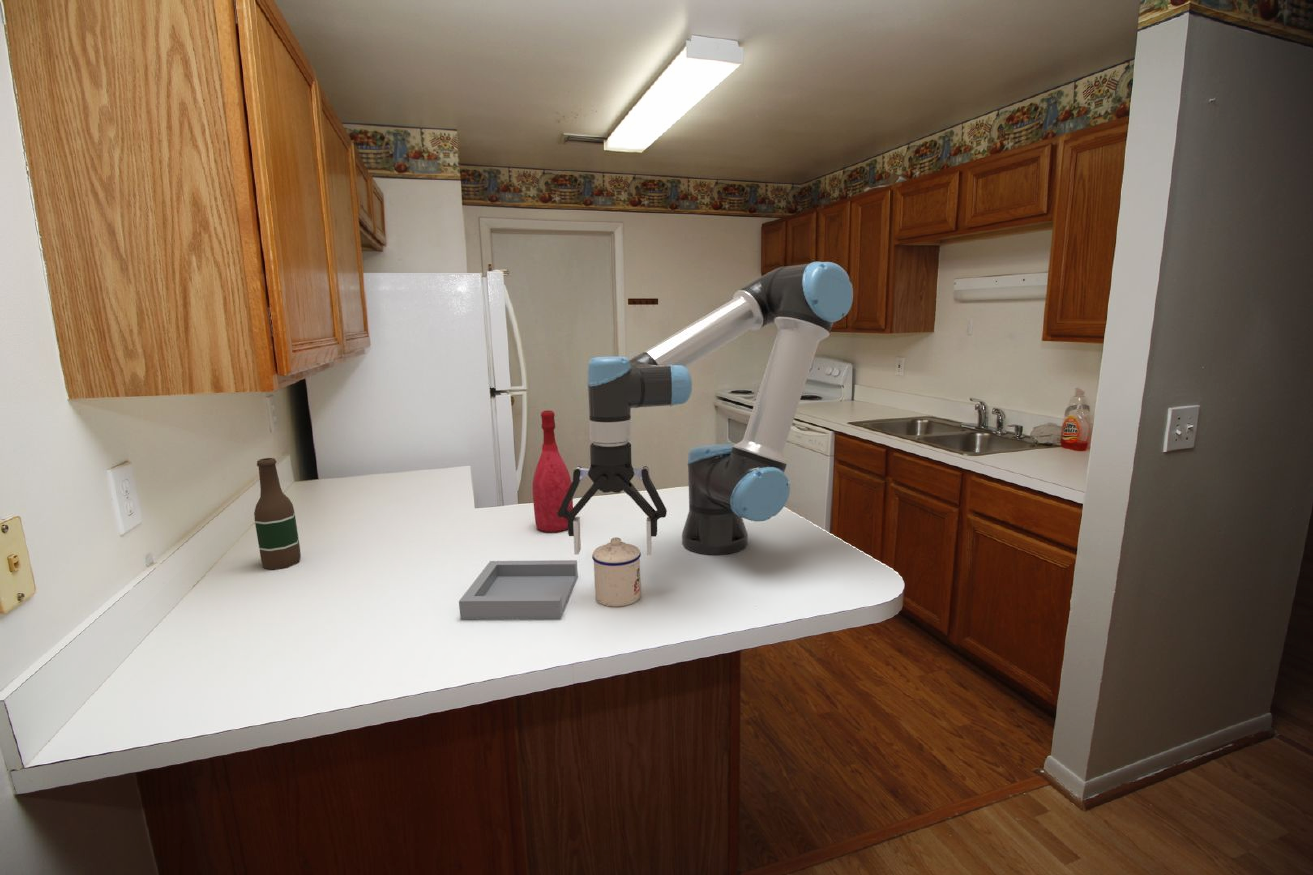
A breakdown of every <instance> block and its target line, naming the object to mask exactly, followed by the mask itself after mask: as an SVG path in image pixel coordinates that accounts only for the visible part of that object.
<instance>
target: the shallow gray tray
mask: <svg viewBox="0 0 1313 875" xmlns="http://www.w3.org/2000/svg"><path fill="white" fill-rule="evenodd" d="M578 575H579V572H578V560H577V559H573V560H572V559H569V560H568V559H566V560H563V559H561V560H558V559H557V560H556V559H555V560H550V559H549V560H489V562H488V563H487V564H486V566H485V567H484V568H483V569H482V571H481V572H480V573H479V575H478V576H477V578H476V579H475V580H474V581H473V582H472V584H471V585H470V586H469V587H468V589H467V590H466V591H465V593H464V594H463V595H462V597H461V598H460V599H459V600H458V608H459V616H460V617H459V618H460V620H561V619H562V616H563V615H564V612H565V609H566V606H567V604H568V601H569V599H570V597H571V594H572V591H573V589H574V587H575V584H576V581H577V579H578V578H579V576H578Z"/></svg>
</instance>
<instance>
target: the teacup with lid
mask: <svg viewBox="0 0 1313 875" xmlns="http://www.w3.org/2000/svg"><path fill="white" fill-rule="evenodd" d="M591 555H592V556H591V558H592V560H593V575H594V592H595V593H594V594H595V600H596V601H597V602H598V603H600V605H604V606H607V607H617V608H618V607H625V606H626V607H627V606H629V605H632V604H634V603H636V602H637V601H638V600H639V599H640V598H641V596H642V588H641V585H642V584H641V555H642V553H641V550H640V549H639V547H638V546H636V545H634V544H631V543H626V542H623V541H622V538H621V537H617V536H616V537H612V538H611V539H610V542H608V543H606V544H603V545H600V546H598V547H597V548H596V549H594V551H593V552H592V554H591Z"/></svg>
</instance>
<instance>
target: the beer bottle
mask: <svg viewBox="0 0 1313 875" xmlns="http://www.w3.org/2000/svg"><path fill="white" fill-rule="evenodd" d="M276 464H277V459H276V458H275V457H265V458H260V459H258V460H257V462H256V466H257V467H258V474H259V485H260V486H259V487H260V495H259V496H260V497H259V499H258V501H257V503H256V504H255V509H254V513H253V514H254V515H253V516H254V525H255V531H256V538H257V543H258V548H259V549H258V550H259V556H260V561H261V565H262V569H266V570H271V571H274V570H279V569H280V570H281V569H287V568H290V567H292V566H295V565H297V564H299V563H300V560H301V557H302V556H301V555H302V554H301V547H300V546H301V545H300V538H299V533H298V526H297V520H296V513H295V509H294V508H295V507H294V504H293V502H292V500H291V499H290V498H289V497H288V496H287V495H286V494H285V493H284V492H283V489H282V487H281V484H280V479H279V475H278V470H277V466H276Z"/></svg>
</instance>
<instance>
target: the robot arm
mask: <svg viewBox="0 0 1313 875" xmlns="http://www.w3.org/2000/svg"><path fill="white" fill-rule="evenodd" d="M732 297H733V298H732V299H731V300H729V301H728V302H726V303H723V305H721V306H719V307H717V308H716V309H714V310H713V311H711V312H709V313H707V314H705V315H704V316H702V317H701V318H698V319H697V320H696V321H693V322H692V323H690V324H689V325H687V326H686V327H683V328H682V329H680V330H679V331H677V332H675V333H673V334H672V335H670V336H669V337H667V338H665V339H663V340H662V341H660V342H659V343H657V344H655V345H653V346H651V347H650V348H648V349H646V350H645V351H643V352H641V353H640V354H638V355H636V356H634V357H632V358H631V359H629V358H628V357H626V356H597V357H593V358H591V359H590V360H589V362H588V366H587V367H588V369H587V382H586V384H587V393H588V395H587V396H588V409H589V410H588V411H589V416H588V422H589V423H588V424H589V426H588V428H589V429H588V430H589V440H590V442H592V443H591V444H590V446H589V452H590V453H589V454H590V455H589V456H590V466H589V468H583V467H582V466H576V467H575V469H574V470H573V474H572V480H571V483H572V484H571V486H570V488H569V490H568V492H567V494H566V496H565V498H564V500H563V503H562V505H561V507H560V509H559V511H558V513H557V515H558V517H563V518H566V519H567V521H568V529H567V534H568V536H569V537H573V549H574V555H579V554H580V551H581V549H582V548H581V547H582V546H581V542H582V541H581V521H580V518H581V516H577V515H578V514H579V513H580V512H581V511H582V509H583V508H584V507H585V506H586V504H587V503H588V502H589V501H590V500H591V499H592V497H594V495H595V494H597V492H598V490H599V491H600V492H602V493H606V494H607V493H610V492H611V493H617V494H618V493H621V492H623V491H624V493H625V494H626V495H627V496H629V497H630V498H631V500H633V502H634V503H635V504H636V505H637V506H638V507H639V508H640V510H641V511H642V512H643V513H644V514H645V515H646V516H647V518H646V522H645V523H646V525H645V526H646V555H647V556H651V555H652V548H653V547H652V544H653V542H652V541H653V540H652V537H657V535H658V521H659V520H660V519H661V518H663V519H664V518H666V516H667V512H668V511H667V507H666V506H665V503H664V502H663V500H662V498H661V497H660V496H661V495H659V493H658V491H657V488H656V486H655V485H654V483H653V481H652V479H651V476H650V470H649V467H648V466H646V465H645V466H642V468H641V467H640V468H639V467H638V468H634V467H633V465H632V463H633V462H632V444H631V443H630V441H631V439H632V425H631V424H632V422H631V421H632V420H631V417H632V416H631V413H632V412H631V409H638V408H649V407H650V408H653V407H668V406H669V407H673V406H675V405H676V406H677V405H683V404H685V403H687V402H688V401H689V399H690V398H691V394H692V390H693V388H692V386H693V384H692V383H693V382H692V377H691V373H690V372H689V369H688V368H689V367H691V366H692V365H694V364H695V363H697V362H699V361H701V360H702V359H704V358H705V357H707V356H709V355H710V354H712V353H713V352H715V351H717V350H719V349H721V348H722V347H723V346H725V345H727V344H728V343H730V342H731V341H733V340H735V339H736V338H738V337H740V336H742V335H743V334H745V333H747V331H750V330H751V331H758V330H760V329H761V328H764V327H766V326H767V325H769V324H773V323H774V324H775V327H776V328H777V333H776V337H775V340H774V343H773V345H772V349H771V352H770V355H769V357H768V358H769V359H768V362H767V365H766V368H765V371H764V373H763V376H762V377H763V378H762V380H761V382H760V383H761V384H760V386H759V389H758V391H757V392H758V393H757V395H756V398H755V401H754V405H753V407H752V410H751V414H750V417H749V420H748V423H747V424H746V425H747V426H746V429H745V432H744V435H743V438H742V439H741V440H740V441H739V442H737V443H734V444H733V443H719V444H718V443H717V444H715V443H714V444H707V445H705V444H704V445H700V446H695V447H693V448H691V449H690V450H689V452H688V457H687V467H688V469H687V470H688V471H687V473H688V476H687V477H688V513H687V517H686V519H685V520H686V521H685V522H684V523H685V524H684V525H683V530H682V533H681V534H682V535H681V544H682V545H683V547H684V548H685V549H687V550H689V551H691V552H695V553H698V554H703V555H727V554H733V553H736V552H740V551H741V550H744V549H745V548H746V547H747V546H748V544H749V543H748V541H749V540H748V536H749V535H748V531H747V529H746V525H745V521H744V519H745V520H749V521H751V522H764V521H765V522H766V521H769V520H770V519H771V518H773V517H775V516H777V515H778V514H779V513H780V512H781V511H782V510H783V509H784V507H785V506H786V504H787V502H788V500H789V497H790V494H791V492H790V491H791V486H790V483H789V478H788V476H787V475H786V473H785V471H786V469H787V464H788V461H787V459H786V458H785V455H784V450H785V447H786V443H787V440H788V437H789V435H790V431H791V429H792V426H793V422H794V421H795V416H796V413H797V410H798V408H799V407H798V406H799V404H800V401H801V399H802V395H803V392H804V389H805V386H806V383H807V379H808V377H809V373H810V371H811V368H812V364H813V361H814V358H815V355H816V352H817V349H818V346H819V343H820V342H821V341H823V340H824V339H826V338H828V337H829V336H830V334H831V331H832V328H833V324H834V323H835V322H838V321H840V320H842V319H843V318H844V317H846V316H847V315H848V314H849V312H850V311H851V308H852V304H853V298H854V289H853V284H852V282H851V281H850V276H849V274H848V273H847V272H846V270H845V269H844V268H843V267H841V266H840V265H839V264H837V263H834V262H831V261H823V262H822V261H818V260H817V261H814V262H810V263H804V264H797V265H786V266H781V267H777V268H775V269H773V270H771V271H769V272H766V274H763V275H761V276H760V277H758V278H757V279H755V280H753V281H752V282H750V283H749V284H747V285H746V286H743V287H742V288H740V289H739V290H736V291H735V293H734V294H733V295H732ZM586 476H588V477H589V479H590V480H591V482H592V485H591V486H590V487H589V489H587V491H586V492H585V493H584V494H583V495H582V497H580V499H579V501H577V502H576V504H575V505H573V509H572V510H571V511H570V510H567V508H568V506H569V504H570V502H571V500H572V498H574V495H575V494H576V492H577V489H578V487H579V485H580V483H581V481H583V480H585V478H586ZM634 476H636V477H637V479H638V480H639V481H642V483H643V484H642V485H643V487H644V488H645V490H646V492H647V493H648V496H649V497H650V500H651V501H652V503H653V505H654V507H655V509H656V510H655V509H654V507H652V505H651V504H650V503H649V502H648V501H647V499H646V498H645V497H644V496H643V495H642V494H641V493H640V491H639V490H637V488H636V487H635V484H633V482H631V481H632V480H633V478H634Z"/></svg>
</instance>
